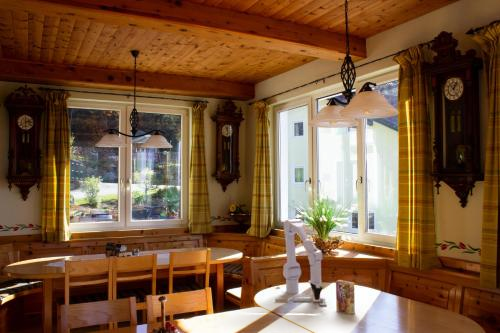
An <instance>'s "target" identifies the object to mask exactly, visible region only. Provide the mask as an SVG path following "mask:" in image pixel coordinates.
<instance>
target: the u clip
mask: <svg viewBox="0 0 500 333" xmlns="http://www.w3.org/2000/svg"><path fill="white" fill-rule="evenodd" d="M310 294H311V297H313V301H320V298H319V300H315V297H314V291H313V290H312V289H311V293H310Z"/></svg>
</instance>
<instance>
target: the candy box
mask: <svg viewBox="0 0 500 333" xmlns="http://www.w3.org/2000/svg"><path fill="white" fill-rule="evenodd" d="M335 296H336V298H335V299H336V303H335V304H336V308H335V310H336V311H337V312H341V313H344V314H348V315H351V314H355V313H356V311H355V310H356V309H355V282H353V281H348V280H343V279H339V280H335Z"/></svg>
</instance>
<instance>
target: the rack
mask: <svg viewBox="0 0 500 333" xmlns="http://www.w3.org/2000/svg"><path fill="white" fill-rule="evenodd" d="M294 300H295V303H297V302H298V303H299V302H300V303H302V302H303V303H304V302H307V303H314V302H315V303H318V307H324V308H325V307H327V302H326V298H323V297H321V296H320V301H313V297H312V296H311V297H309V296H308V297H307V296H303V297H302V296H295V297H294Z"/></svg>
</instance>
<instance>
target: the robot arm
mask: <svg viewBox="0 0 500 333" xmlns="http://www.w3.org/2000/svg"><path fill="white" fill-rule="evenodd" d="M283 233H284V237H285V238H284V240H285V251H286V253H285V254H286V263H284V264H283V270H282V275H283V277H284V278H285V287H286V288H285V292H286V293H287V294H292V295H294V294H299V292H300V290H299V280H300V277H301V275H302V269H301V266H300V263H299V262H297V257H296V255H297V254H296V246H295V243H296V242H295V234H297V235H298V236H299V238H300V240H301V241H302V246H303V248H304V249H305V252H306V253H307V259H308V261H309V262H308V263H309V265H310V266H309V268H310V270H309V272H310V280H308V283H309V285H310V287H311V290H313V291H314V297H315V300H319V298H320V297H321V292H322V290H323V286H321V284H322V282H323V281H322V261H323V258H324V254H323V252H322V250H321V249H319V248H317V247H316V245H315V243H314V241H313V240H312V239H309V237H308V235H307V233H306V231H305V228H304V222H303V221H302V219H301V218H296V219H286V220H285V221H284V223H283Z"/></svg>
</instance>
